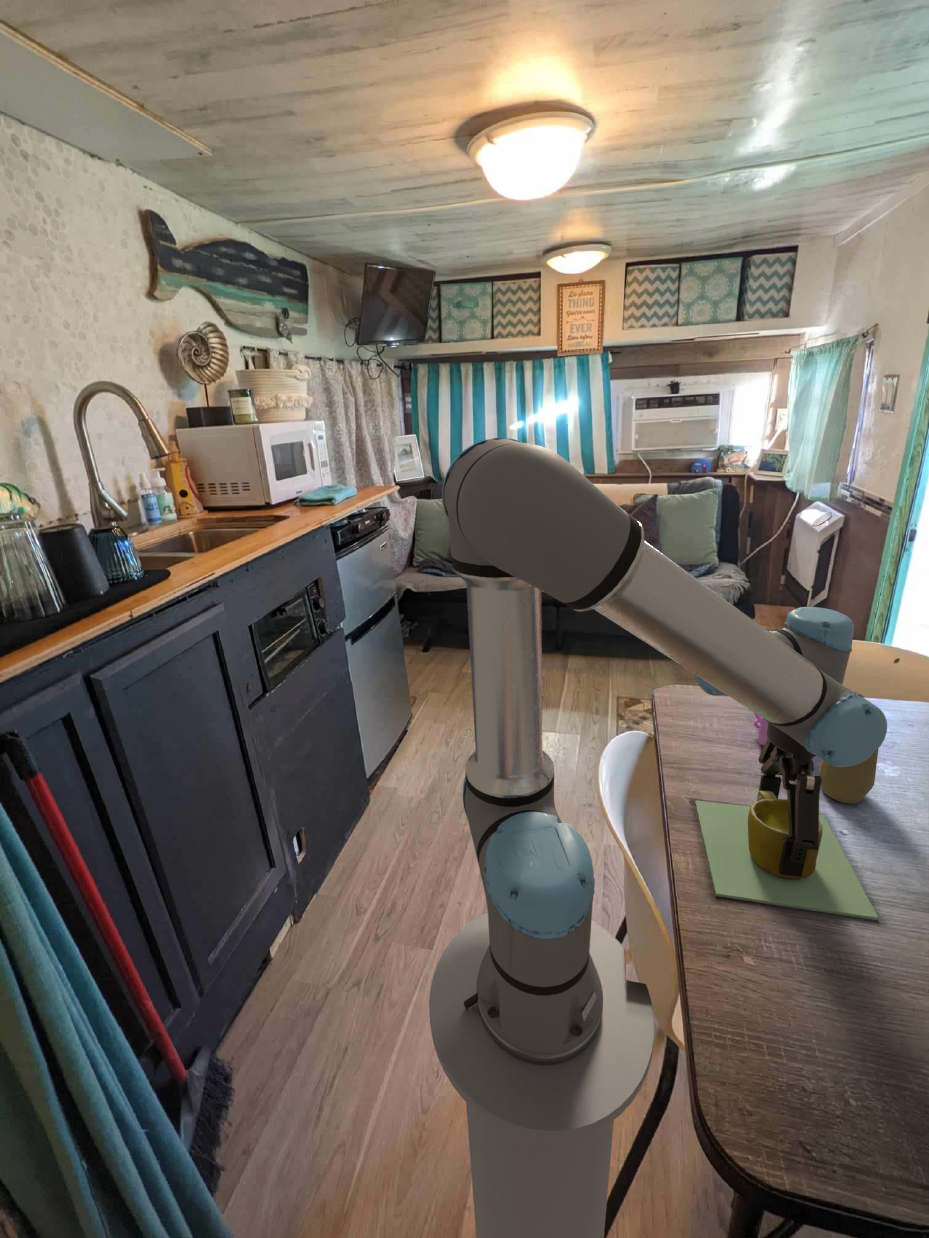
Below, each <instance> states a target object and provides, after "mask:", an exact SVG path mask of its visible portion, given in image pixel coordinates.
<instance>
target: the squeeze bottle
mask: <svg viewBox="0 0 929 1238" xmlns="http://www.w3.org/2000/svg"><path fill="white" fill-rule="evenodd" d="M879 749H880V747H879V748H878V749H877V750H876V751H875V752H874V753H873V754H872V756H871V757H869V758H868V759H867V760H865V761H863V762H862V763H859V764H857V765H854V766H850V767H836V766H832V765H830V764H828V763H826V762H825V761H823V760H822V759H820V762H819V766H818V767H817V768H818V774H819V775H820V777H821V779H822V782H821V789H822V791H823V792H824V794H825V795H826V796H827V797H829V798H831V799H833V800H835V801H837V802H840V803H844V804H858V803H860V802H861V801H863V799H864V798H865V797H866V796H867V795H868V793H869V792H870V791H871V790H872V789H873V787H874V786H875V782H876V773H877V764H878V756H879Z"/></svg>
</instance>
